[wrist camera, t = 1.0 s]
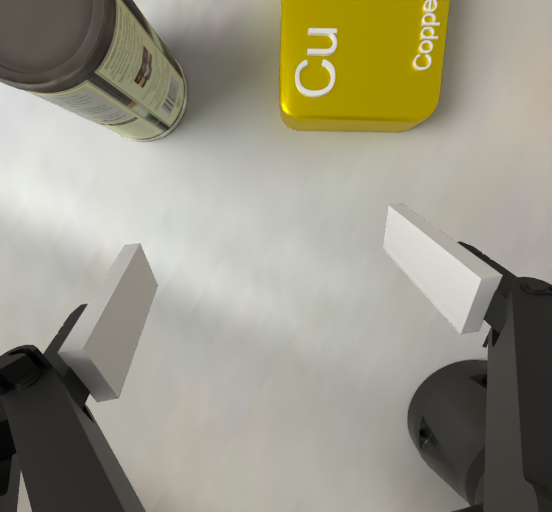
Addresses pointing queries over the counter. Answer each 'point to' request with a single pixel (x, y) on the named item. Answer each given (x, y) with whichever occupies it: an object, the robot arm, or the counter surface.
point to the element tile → (360, 63)
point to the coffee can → (94, 63)
